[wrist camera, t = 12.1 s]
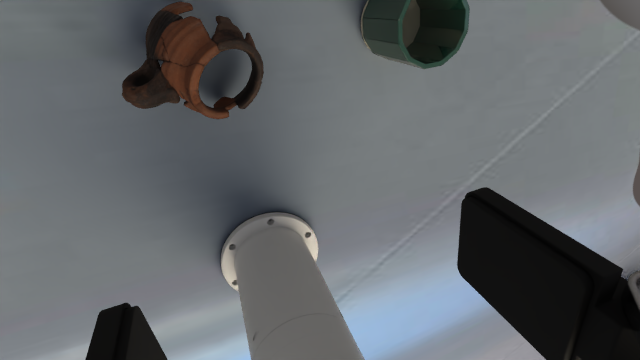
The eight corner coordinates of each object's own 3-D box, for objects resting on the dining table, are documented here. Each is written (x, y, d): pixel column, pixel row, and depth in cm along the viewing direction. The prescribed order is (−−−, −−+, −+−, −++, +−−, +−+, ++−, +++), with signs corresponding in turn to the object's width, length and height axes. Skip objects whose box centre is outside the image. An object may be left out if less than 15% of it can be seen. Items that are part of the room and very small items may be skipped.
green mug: (402, 66, 41) (444, 78, 34) (349, 42, 38) (385, 50, 31) (442, -25, 38) (498, -32, 31) (389, -60, 35) (438, -76, 28)
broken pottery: (203, -26, 32) (256, 7, 28) (237, 61, 40) (281, 96, 36) (77, 40, 28) (117, 88, 24) (141, 121, 36) (179, 166, 32)
